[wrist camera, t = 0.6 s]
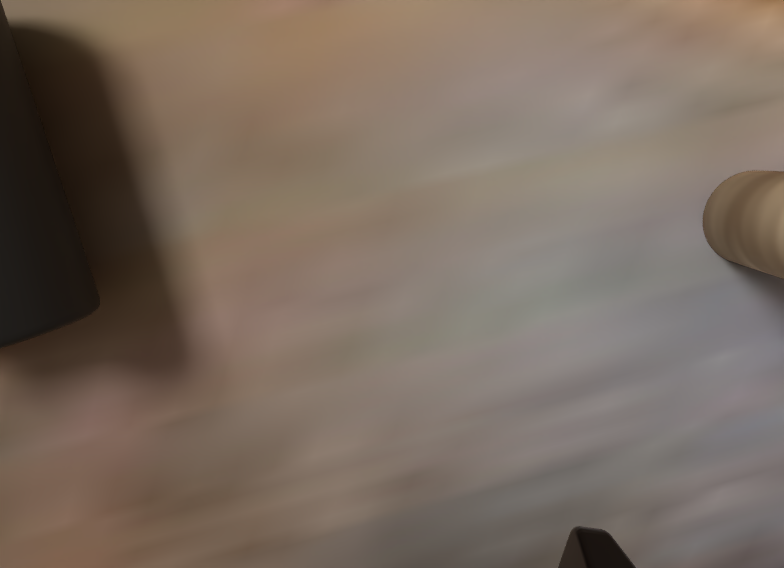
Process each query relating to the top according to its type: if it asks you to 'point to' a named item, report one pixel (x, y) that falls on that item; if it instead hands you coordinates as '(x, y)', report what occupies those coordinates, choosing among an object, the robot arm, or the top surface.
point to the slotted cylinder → (748, 220)
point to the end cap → (34, 219)
